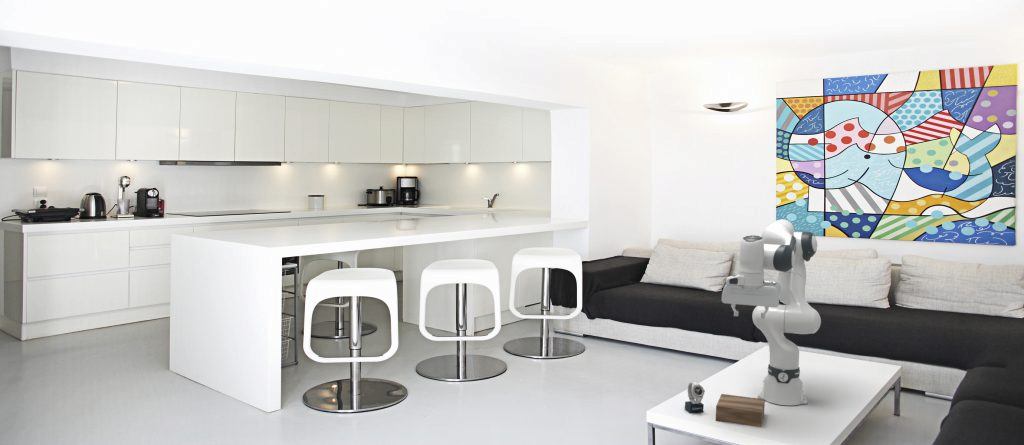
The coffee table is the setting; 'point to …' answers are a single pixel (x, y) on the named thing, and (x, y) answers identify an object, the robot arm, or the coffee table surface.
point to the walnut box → (740, 410)
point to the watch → (694, 393)
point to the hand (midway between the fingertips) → (749, 317)
